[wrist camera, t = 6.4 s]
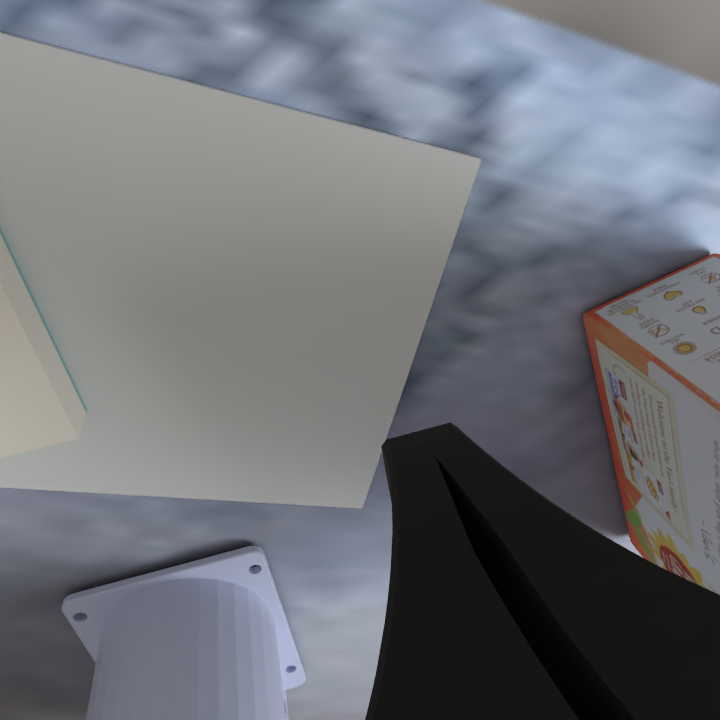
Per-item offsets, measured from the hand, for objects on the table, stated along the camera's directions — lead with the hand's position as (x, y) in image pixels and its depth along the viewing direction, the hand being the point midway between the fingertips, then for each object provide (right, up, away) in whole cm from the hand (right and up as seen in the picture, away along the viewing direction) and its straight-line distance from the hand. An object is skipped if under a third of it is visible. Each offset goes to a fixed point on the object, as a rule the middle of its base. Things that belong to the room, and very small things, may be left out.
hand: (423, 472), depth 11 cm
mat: (-9, +4, +7) cm, 12 cm away
